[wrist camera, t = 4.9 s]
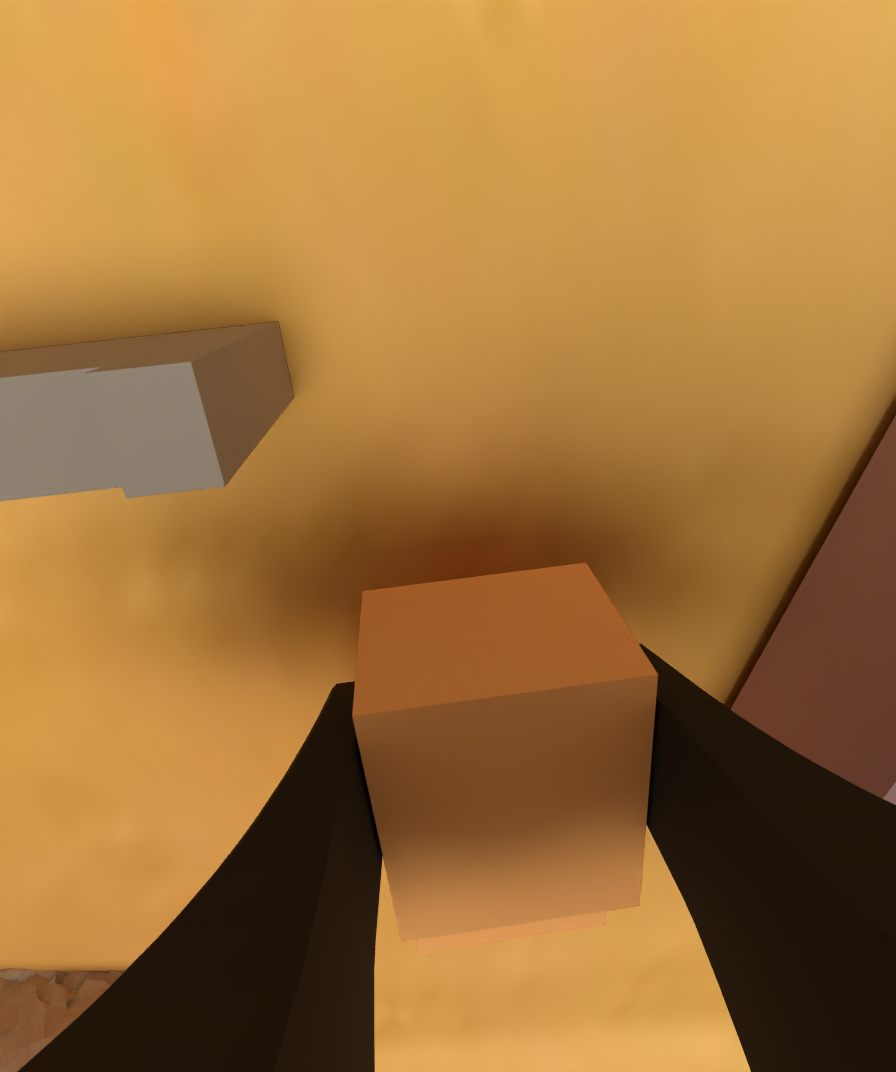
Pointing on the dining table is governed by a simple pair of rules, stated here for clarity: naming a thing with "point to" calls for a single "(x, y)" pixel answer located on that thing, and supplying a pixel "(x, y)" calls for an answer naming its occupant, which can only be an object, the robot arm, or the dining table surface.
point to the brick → (42, 1008)
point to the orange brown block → (504, 753)
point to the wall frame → (139, 411)
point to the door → (840, 644)
